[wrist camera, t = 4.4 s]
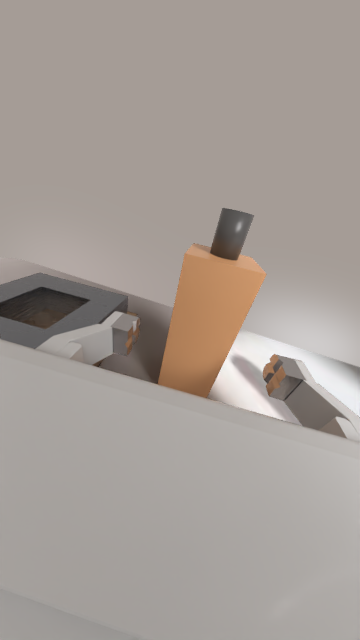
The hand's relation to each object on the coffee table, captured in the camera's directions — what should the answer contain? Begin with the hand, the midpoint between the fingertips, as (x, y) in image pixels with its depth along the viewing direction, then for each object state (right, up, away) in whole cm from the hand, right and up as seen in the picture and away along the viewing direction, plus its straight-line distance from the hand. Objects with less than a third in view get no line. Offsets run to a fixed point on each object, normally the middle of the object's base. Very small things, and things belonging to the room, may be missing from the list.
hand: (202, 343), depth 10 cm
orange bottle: (-1, -4, +7) cm, 8 cm away
